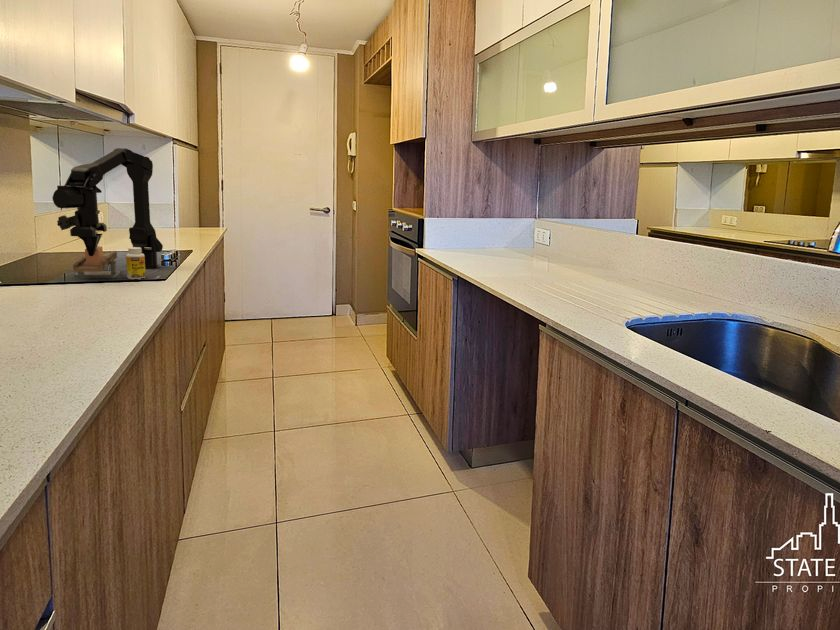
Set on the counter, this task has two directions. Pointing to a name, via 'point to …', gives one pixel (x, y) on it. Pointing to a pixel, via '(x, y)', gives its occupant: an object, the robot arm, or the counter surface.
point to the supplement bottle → (135, 263)
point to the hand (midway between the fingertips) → (91, 256)
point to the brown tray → (94, 267)
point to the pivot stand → (100, 273)
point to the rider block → (95, 256)
